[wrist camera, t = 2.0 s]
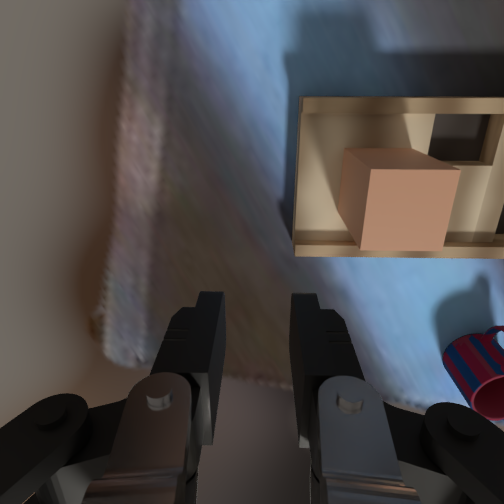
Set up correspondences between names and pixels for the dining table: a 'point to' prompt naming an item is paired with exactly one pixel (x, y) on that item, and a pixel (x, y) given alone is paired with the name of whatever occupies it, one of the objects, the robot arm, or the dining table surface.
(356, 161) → the terracotta block
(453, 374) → the mug
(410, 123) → the tray
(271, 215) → the dining table surface
